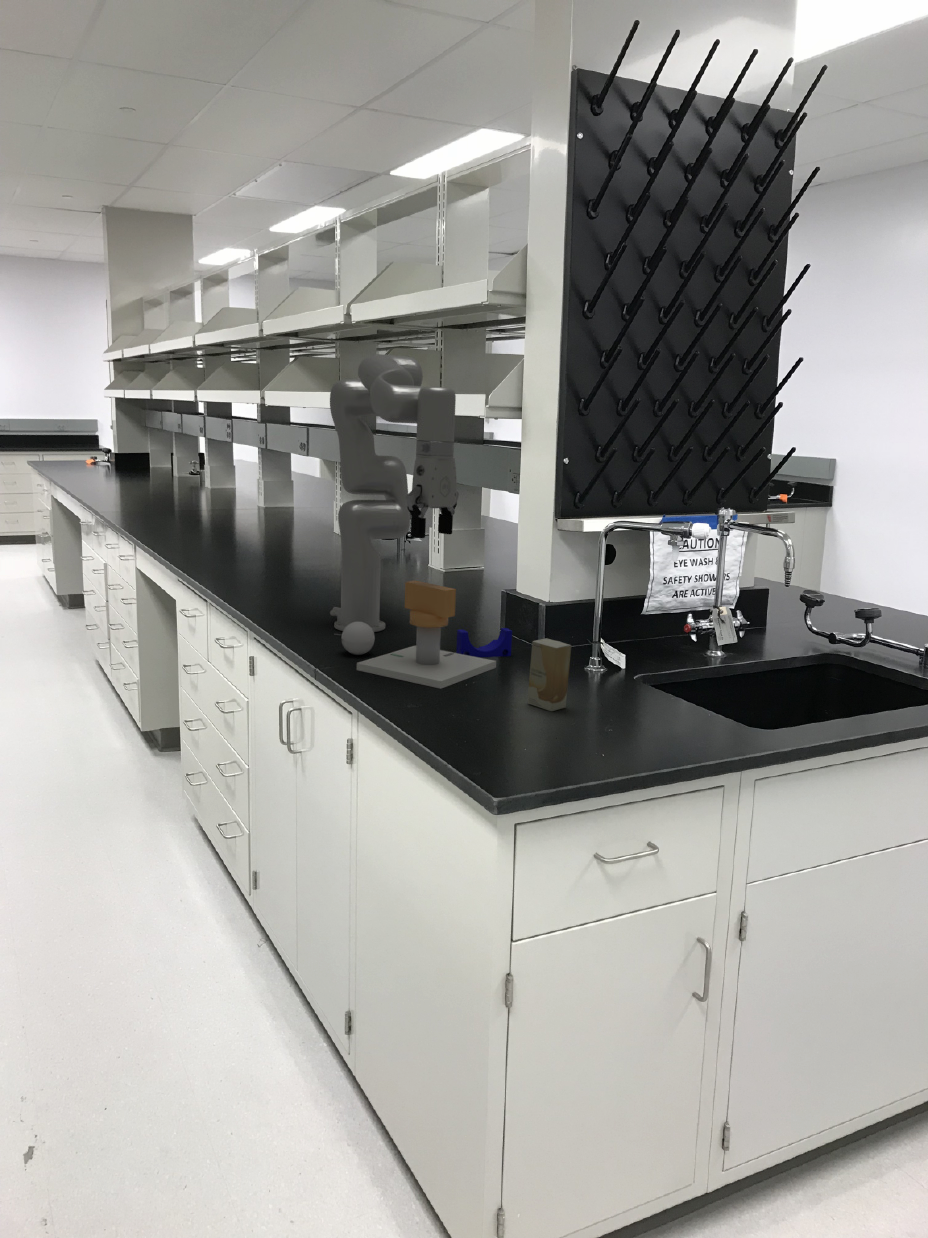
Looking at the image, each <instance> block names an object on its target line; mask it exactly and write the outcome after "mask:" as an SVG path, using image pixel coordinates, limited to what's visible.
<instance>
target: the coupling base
mask: <svg viewBox="0 0 928 1238" xmlns="http://www.w3.org/2000/svg"><path fill="white" fill-rule="evenodd" d="M441 629H442V627H434V628H429V627H418V626H416V639H415V640H416V645H412V646H409V647H405V648H402V649H399V650H395V651H392V652H390V653H386V654H383V655H382V654H381V655H379V656H376V657H372V658H369V659H365V660H363V661H359V662H356V671H359V672H364V673H368V674H371V675H372V674H374V675H376V676H377V675H378V676H382V677H386V678H391V679H396V680H401V681H404V682H410V683H413V684H417V685H418V684H419V685H422V686H426V687H427V686H428V687H431V688H436V689H443V688H447V687H449V686H452V685H455V684H456V683H460V682H462V681H466V680H467V679H471V678H472V677H474V676H475V677H476V676H478V675H480V674H483V673H486V672H488V671H492V670H494V669H497V660H493V659H489V658H488V659H487V658H484V657H479V658H478V657H473V656H468V655H463V654H464V653H463V654H458V653H456V652H452V651H448V650H443V649H441V634H442V633H441V631H442V630H441Z"/></svg>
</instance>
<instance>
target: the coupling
mask: <svg viewBox="0 0 928 1238" xmlns="http://www.w3.org/2000/svg"><path fill="white" fill-rule="evenodd" d="M456 593H457V589H456V588H453V587H448V586H443V585H437V584H433V583H429V582H423V581H421V580H410V581H405V585H404V608H405V609H407V610H409V624H410V625H412V626H415V627H417V626H418V627H429V628H434V627H441V628H443V627H447V626H448V625H449V618H452V617H455V615H456V598H457V597H456V596H457V595H456Z"/></svg>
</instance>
